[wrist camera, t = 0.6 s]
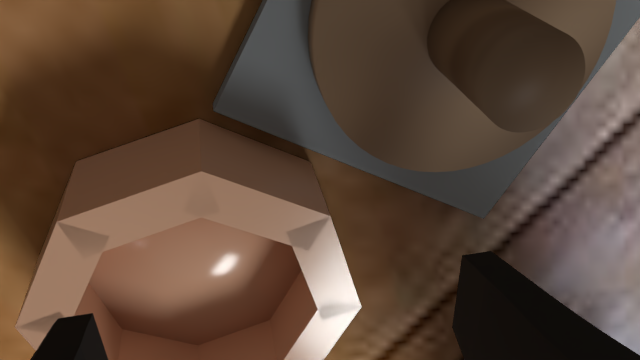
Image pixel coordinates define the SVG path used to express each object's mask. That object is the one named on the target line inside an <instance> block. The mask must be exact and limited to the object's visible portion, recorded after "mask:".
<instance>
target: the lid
mask: <svg viewBox="0 0 640 360" xmlns="http://www.w3.org/2000/svg"><path fill="white" fill-rule="evenodd" d="M615 5H616V0H312V1H311V7H310V12H309V21H308V45H309V56H310V62H311V66H312V70H313V74H314V78H315V80H316V83H317V86H318V88H319V91H320V93H321V95H322V97H323V99H324V101H325V103H326V105H327V107H328V109H329V110H330V112H331V114H332V116H333V117H334V119H335V121H336V122H337V124H338V125H339V126H340V127H341V129H342V130H343V131H344V133H345V134H346V135H347V136H348V137H349V138H350V139H351V140H352V141H353V142H354V143H355V144H357V145H358V146H359V147H360V148H362V149H363V150H364V151H366V152H367V153H369V154H370V155H372V156H374V157H376V158H378V159H380V160H382V161H384V162H386V163H388V164H391V165H394V166H397V167H400V168H404V169H409V170H414V171H422V172H447V171H456V170H461V169H467V168H471V167H475V166H478V165H481V164H485V163H487V162H490V161H492V160H495V159H497V158H500V157H502V156H504V155H506V154H508V153H510V152H511V151H513V150H515V149H517V148H519V147H520V146H522V145H523V144H525V143H526V142H528V141H529V140H531V139H532V138H534V137H535V136H536V135H538V134H539V133H540V132H541V131H543V130H544V129H545V128H546V127H547V126H549V125H550V124H551V123H552V122H553V121H554V120H556V119H557V118H558V117H559V116H561V115H562V114H563V113H564V112H565V111H566V110H567V109H568V108H569V106H570V105H571V104H572V103H573V101H574V100H575V98H576V96H577V95H578V93H579V91H580V90H581V88H582V87H583V85H584V84H585V82H586V81H587V80H588V78H589V76H590V74H591V72H592V71H593V69H594V67H595V65H596V63H597V62H598V59H599V57H600V55H601V52H602V50H603V48H604V46H605V43H606V40H607V37H608V34H609V31H610V28H611V24H612V20H613V15H614V10H615Z"/></svg>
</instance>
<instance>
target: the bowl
mask: <svg viewBox="0 0 640 360" xmlns="http://www.w3.org/2000/svg"><path fill="white" fill-rule="evenodd" d="M360 308H361V304H360V301H359V298H358V295H357V292H356V290H355V287H354V284H353V281H352V278H351V275H350V272H349V269H348V266H347V263H346V260H345V257H344V254H343V251H342V248H341V246H340V243H339V240H338V237H337V234H336V231H335V228H334V225H333V222H332V219H331V216H330V213H329V211H328V208H327V205H326V202H325V200H324V197H323V194H322V192H321V189H320V186H319V183H318V181H317V178H316V175H315V173H314V170H313V167H312V165H311V162H309V161H307V160H304V159H301V158H299V157H296V156H294V155H291V154H289V153H286V152H283V151H281V150H278V149H276V148H273V147H271V146H268V145H265V144H263V143H260V142H258V141H255V140H252V139H250V138H247V137H245V136H242V135H240V134H237V133H234V132H232V131H229V130H227V129H224V128H222V127H219V126H216V125H214V124H211V123H209V122H206V121H204V120H201V119H197V120H194V121H191V122H188V123H185V124H183V125H180V126H177V127H174V128H171V129H168V130H165V131H162V132H159V133H157V134H154V135H151V136H148V137H145V138H142V139H139V140H136V141H134V142H131V143H128V144H125V145H122V146H119V147H116V148H113V149H111V150H108V151H105V152H102V153H99V154H96V155H93V156H90V157H88V158H85V159H82V160H79V161H76V163H75V166H74V168H73V171H72V173H71V176H70V178H69V181H68V184H67V186H66V189H65V191H64V194H63V196H62V199H61V201H60V204H59V207H58V209H57V212H56V214H55V217H54V219H53V222H52V224H51V227H50V229H49V232H48V235H47V237H46V240H45V242H44V245H43V247H42V250H41V252H40V255H39V257H38V260H37V263H36V266H35V269H34V272H33V275H32V278H31V281H30V284H29V287H28V290H27V293H26V296H25V299H24V302H23V305H22V308H21V311H20V314H19V317H18V320H17V323H16V326H15V328H16V329H17V330H18V331H19V332H20V333H21V335H22V336H23V337H24V338H25V339H26V340H27V341H28V343H29V344H30V345H31V346H32V347H33V348H34V349H35V350H37V349H38V347H39V346H40V344H41V342H42V341H43V339H44V338H45V336H46V335H47V333H48V332H49V330H50V328H51V327H52V325H53V324H54V323H55V322H56V320H57V319H58V318H64V317H71V316H77V315H83V314H90V313H93V315H94V318H95V321H96V324H97V327H98V330H99V333H100V336H101V339H102V342H103V345H104V348H105V351H106V354H107V357H108V360H324V358H325V357H326V356H327V354H328V353H329V351H330V350H331V349H332V347H333V346H334V344H335V343H336V342H337V340H338V339H339V337H340V336H341V335H342V333H343V332H344V331H345V329H346V328H347V326H348V325H349V324H350V322H351V321H352V319H353V318H354V317H355V315H356V314H357V312H358V311H359V310H360Z"/></svg>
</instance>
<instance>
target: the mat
mask: <svg viewBox="0 0 640 360" xmlns="http://www.w3.org/2000/svg"><path fill="white" fill-rule="evenodd" d="M311 1H312V0H263V1H262V3H261V5H260V7H259V9H258V11H257V13H256V15H255V17H254V19H253V21H252V23H251V25H250V27H249V30H248V32H247V34H246V36H245V38H244V40H243V42H242V44H241V46H240V48H239V50H238V52H237V54H236V56H235V59H234V61H233V63H232V65H231V67H230V69H229V71H228V73H227V75H226V77H225V79H224V81H223V83H222V85H221V88H220V90H219V92H218V94H217V96H216V98H215V100H214V102H213V111H214V112H217V113H220V114H222V115H225V116H227V117H230V118H232V119H235V120H237V121H240V122H242V123H245V124H247V125H250V126H252V127H255V128H257V129H260V130H262V131H265V132H267V133H270V134H272V135H275V136H277V137H280V138H282V139H285V140H287V141H290V142H292V143H295V144H297V145H300V146H302V147H305V148H307V149H310V150H312V151H315V152H317V153H320V154H322V155H325V156H328V157H330V158H333V159H335V160H338V161H340V162H343V163H345V164H348V165H350V166H353V167H355V168H358V169H360V170H363V171H365V172H368V173H370V174H373V175H375V176H378V177H380V178H383V179H385V180H388V181H390V182H393V183H395V184H398V185H400V186H403V187H405V188H408V189H410V190H413V191H415V192H418V193H420V194H423V195H425V196H428V197H430V198H433V199H435V200H438V201H441V202H443V203H446V204H448V205H451V206H453V207H456V208H458V209H461V210H463V211H466V212H468V213H471V214H473V215H476V216H478V217H481V218H483V219H484V218H485V217H486V215H487V214H488V213H489V211H490V210H491V209H492V208H493V206H494V205H495V204H496V202H497V201H498V200H499V199H500V197H501V196H502V195H503V193H504V192H505V191H506V189H507V188H508V187H509V186H510V184H511V183H512V182H513V180H514V179H515V178H516V177H517V175H518V174H519V173H520V171H521V170H522V169H523V167H524V166H525V165H526V164H527V162H528V161H529V160H530V158H531V157H532V156H533V155H534V153H535V152H536V151H537V149H538V148H539V147H540V145H541V144H542V143H543V142H544V140H545V139H546V138H547V136H548V135H549V134H550V132H551V131H552V130H553V129H554V127H555V126H556V125H557V123H558V122H559V121H560V120H561V118H562V117H563V116H564V114H565V113H566V112H567V110H568V109H569V108H570V107H571V105H572V104H573V103H574V101H575V100H576V99H577V98H578V96H579V95H580V94H581V92H582V91H583V90H584V88H585V87H586V86H587V85H588V83H589V82H590V81H591V79H592V78H593V77H594V76H595V74H596V73H597V72H598V70H599V69H600V68H601V66H602V65H603V64H604V63H605V61H606V60H607V59H608V57H609V56H610V55H611V54H612V52H613V51H614V50H615V48H616V47H617V46H618V44H619V43H620V42H621V41H622V39H623V38H624V37H625V35H626V34H627V33H628V31H629V30H630V29H631V28H632V26H633V25H634V24H635V22H636V21H637V20H638V19H639V17H640V0H616V5H615V10H614V15H613V20H612V24H611V28H610V31H609V34H608V37H607V40H606V43H605V46H604V48H603V50H602V52H601V55H600V57H599V59H598V62H597V63H596V65H595V67H594V69H593V71H592V72H591V74H590V76H589V78H588V80H587V81H586V82H585V84H584V85H583V87H582V88H581V90H580V91H579V93H578V95H577V96H576V98H575V100H574V101H573V103H572V104H571V105H570V106H569V108H568V109H567V110H566V111H565V112H564V113H563V114H562V115H561V116H559V117H558V118H557V119H556V120H554V121H553V122H552V123H551V124H550V125H549V126H547V127H546V128H545V129H544V130H543V131H541V132H540V133H539V134H538V135H536V136H535V137H534V138H532V139H531V140H529V141H528V142H526V143H525V144H523V145H522V146H520V147H519V148H517V149H515V150H513V151H511V152H510V153H508V154H506V155H504V156H502V157H500V158H497V159H495V160H492V161H490V162H487V163H485V164H481V165H478V166H475V167H471V168H467V169H461V170H456V171H447V172H422V171H414V170H409V169H404V168H400V167H397V166H394V165H391V164H388V163H386V162H384V161H382V160H380V159H378V158H376V157H374V156H372V155H370V154H369V153H367V152H366V151H364V150H363V149H362V148H360V147H359V146H358V145H357V144H355V143H354V142H353V141H352V140H351V139H350V138H349V137H348V136H347V135H346V134H345V133H344V131H343V130H342V129H341V127H340V126H339V125H338V124H337V122H336V121H335V119H334V117H333V116H332V114H331V112H330V110H329V109H328V107H327V105H326V103H325V101H324V99H323V97H322V95H321V93H320V91H319V88H318V86H317V83H316V80H315V78H314V74H313V70H312V66H311V62H310V56H309V45H308V21H309V12H310V7H311Z"/></svg>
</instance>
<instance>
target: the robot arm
mask: <svg viewBox="0 0 640 360" xmlns="http://www.w3.org/2000/svg"><path fill="white" fill-rule="evenodd" d="M452 328H453V330H454V333H455V336H456V338H457V341H458V344H459V346H460V349H461V352H462V354H463V357H464V360H640V355H638V354H636V353H635V352H633V351H632V350H630V349H629V348H627V347H626V346H624V345H622V344H621V343H619V342H618V341H616V340H615V339H613V338H611V337H610V336H608V335H607V334H605V333H604V332H602V331H601V330H599V329H598V328H596V327H595V326H593V325H592V324H590V323H589V322H587V321H586V320H584V319H583V318H582V317H580V316H579V315H577V314H576V313H574V312H573V311H572V310H570V309H569V308H567V307H566V306H565V305H563V304H562V303H560V302H559V301H558V300H556V299H555V298H553V297H552V296H551V295H549V294H548V293H547V292H545V291H544V290H543V289H541V288H540V287H538V286H537V285H536V284H534V283H533V282H532V281H530V280H529V279H528V278H526V277H525V276H524V275H522V274H521V273H520V272H518V271H517V270H516V269H514V268H513V267H512V266H510V265H509V264H508V263H506V262H505V261H503V260H502V259H501V258H499V257H498V256H497V255H495V254H494V253H492V252H491V251H488V252H482V253H476V254H469V255H463V256H462V261H461V268H460V275H459V283H458V290H457V297H456V304H455V311H454V318H453V326H452ZM31 360H108V357H107V354H106V351H105V348H104V345H103V342H102V339H101V336H100V333H99V330H98V327H97V324H96V321H95V318H94V315H93V313H90V314H83V315H77V316H71V317H64V318H58V319H57V320H56V322H55V323H54V324H53V325H52V327H51V328H50V330H49V332H48V333H47V335H46V336H45V338H44V339H43V341H42V342H41V344H40V346H39V347H38V349H37V350H36V352H35V353H34V355H33V357H32V358H31Z"/></svg>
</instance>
